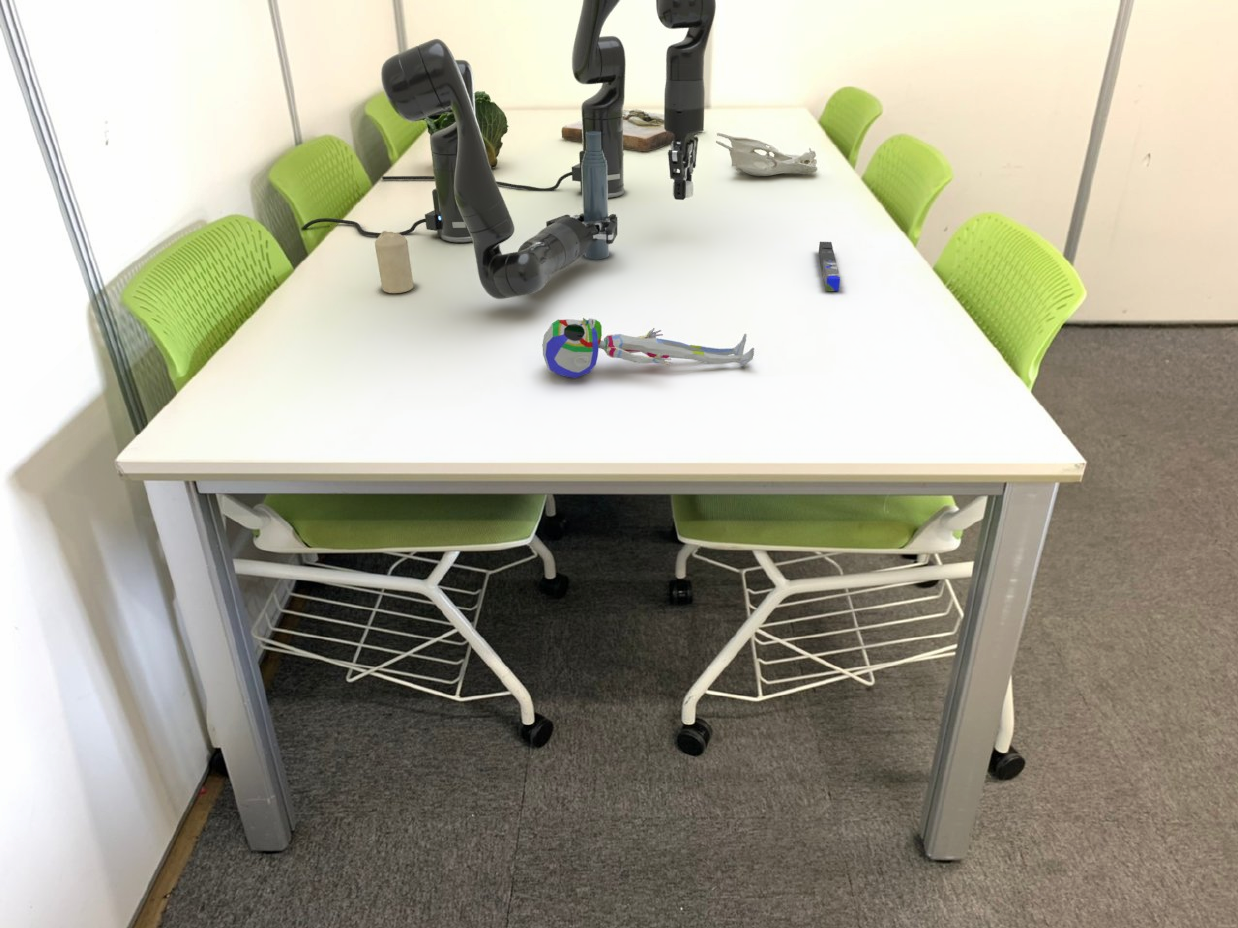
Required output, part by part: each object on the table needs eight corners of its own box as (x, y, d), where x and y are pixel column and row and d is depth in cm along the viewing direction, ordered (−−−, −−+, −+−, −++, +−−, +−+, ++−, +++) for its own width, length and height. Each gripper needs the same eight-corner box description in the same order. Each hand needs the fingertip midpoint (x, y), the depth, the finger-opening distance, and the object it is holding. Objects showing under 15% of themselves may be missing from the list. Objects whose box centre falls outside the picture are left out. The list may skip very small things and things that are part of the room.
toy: (760, 346, 125) (547, 329, 121) (748, 400, 130) (541, 385, 125) (744, 318, 134) (544, 300, 129) (733, 369, 138) (539, 354, 134)
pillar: (831, 242, 170) (840, 279, 154) (830, 253, 172) (838, 291, 155) (819, 241, 171) (827, 279, 154) (818, 252, 172) (825, 291, 155)
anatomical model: (717, 129, 225) (818, 128, 221) (717, 166, 230) (815, 166, 226) (714, 143, 213) (820, 142, 209) (713, 182, 217) (817, 182, 214)
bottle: (580, 257, 172) (575, 134, 160) (591, 250, 176) (587, 129, 164) (602, 261, 170) (599, 136, 158) (613, 253, 174) (610, 131, 162)
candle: (419, 284, 161) (411, 229, 156) (403, 295, 157) (395, 239, 151) (392, 280, 162) (384, 226, 157) (376, 291, 158) (367, 236, 153)
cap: (687, 199, 175) (688, 186, 174) (669, 197, 177) (669, 184, 175) (696, 194, 178) (696, 181, 177) (677, 192, 180) (678, 179, 178)
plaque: (647, 125, 237) (559, 112, 252) (647, 153, 241) (560, 139, 256) (706, 107, 258) (622, 97, 273) (705, 133, 262) (622, 121, 277)
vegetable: (456, 190, 238) (411, 121, 230) (516, 151, 239) (474, 80, 231) (465, 191, 219) (416, 116, 212) (530, 148, 221) (484, 71, 213)
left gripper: (595, 228, 154) (636, 202, 167) (523, 219, 159) (568, 194, 172) (596, 270, 158) (636, 241, 171) (526, 259, 163) (569, 232, 176)
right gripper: (675, 97, 175) (673, 186, 184) (654, 110, 164) (654, 204, 173) (712, 98, 173) (709, 188, 182) (694, 112, 161) (692, 207, 171)
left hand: (601, 217), depth 172 cm, fingers closed on bottle, 4 cm apart
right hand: (682, 195), depth 177 cm, fingers closed on cap, 3 cm apart
